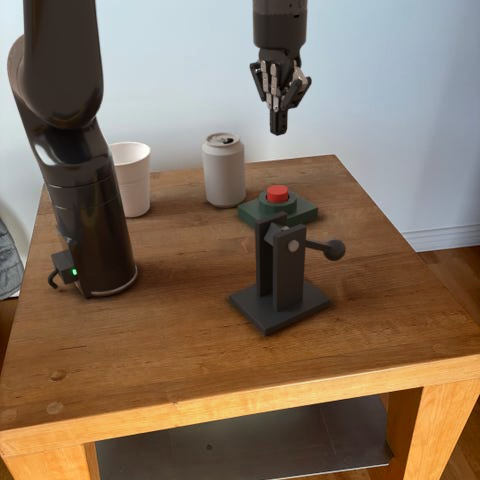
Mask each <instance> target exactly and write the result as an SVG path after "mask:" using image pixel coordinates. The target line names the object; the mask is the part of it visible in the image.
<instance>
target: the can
mask: <svg viewBox="0 0 480 480" xmlns="http://www.w3.org/2000/svg"><path fill="white" fill-rule="evenodd" d="M201 154H202V166H203V167H202V168H203V177H204V188H205V199H206V200H207V202H209V203H210V204H211V205H212V206H214V207H217V208H223V209H225V208H228V209H229V208H233V207H236V206H238V205H240V204H242V202H244V201H245V200H244V199H246V197H247V194H246V193H247V190H246V189H247V188H246V159H245V157H246V156H245V144H244V143H243V141H241V135H239V134H237V133H236V132H231V131H218V132H213V133H211V134H209V135H207V136H206V137H205V138H204V143H203V144H202V147H201Z"/></svg>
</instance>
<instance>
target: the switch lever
mask: <svg viewBox="0 0 480 480" xmlns="http://www.w3.org/2000/svg"><path fill="white" fill-rule="evenodd" d="M286 229H289V228H288V227H287V226H284V225H280V224H277V223H273V222H271V224H270V227H269V229H268V231H267V233H266V235H265V237H264V240H265V241H267V242H268V243H269V244H271V245H272V246H273V234H276V233H278V232H281V231H284V230H286ZM306 248H307V249H311V250H314V251H318V252H322V254H323V257H325V259H326V260H328V261H330V262H337V261H339V260H342V259H343V257H345V254H346V251H347V249H346V248H347V247H346V244H345V243H344V241H343V240H342V239H340V238H336V237H333V238H330V239H328V240H326V241H325V242H323V241H320V240H316V239H311V238H308V237H306ZM306 248H305V249H306Z"/></svg>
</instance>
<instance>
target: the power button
mask: <svg viewBox="0 0 480 480" xmlns="http://www.w3.org/2000/svg"><path fill="white" fill-rule="evenodd" d="M288 189H289V188H288V187H287V186H285V185H280V184H275V185H271V186H269V187H268V188H267V200H268V201H269V202H274V203H282V202H285V201H287V200H288Z"/></svg>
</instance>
